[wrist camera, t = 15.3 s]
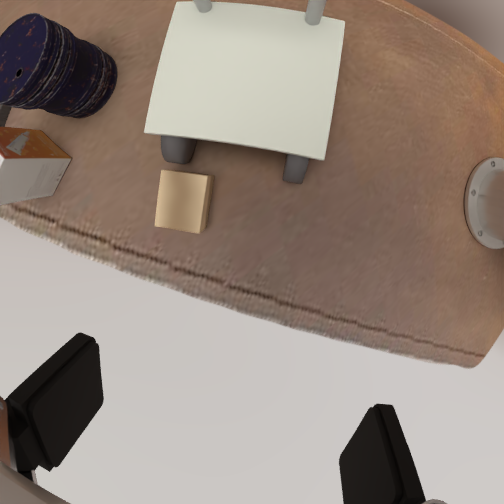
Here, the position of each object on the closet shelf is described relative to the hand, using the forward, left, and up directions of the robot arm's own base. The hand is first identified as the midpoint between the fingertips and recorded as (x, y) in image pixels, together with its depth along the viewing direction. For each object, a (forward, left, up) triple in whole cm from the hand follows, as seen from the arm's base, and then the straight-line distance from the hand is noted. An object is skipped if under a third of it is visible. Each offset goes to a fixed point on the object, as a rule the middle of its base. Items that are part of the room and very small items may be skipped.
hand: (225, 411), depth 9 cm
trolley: (+4, -16, -28) cm, 32 cm away
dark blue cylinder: (+26, -16, -28) cm, 41 cm away
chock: (+9, -3, -28) cm, 29 cm away
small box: (+31, -5, -28) cm, 42 cm away
